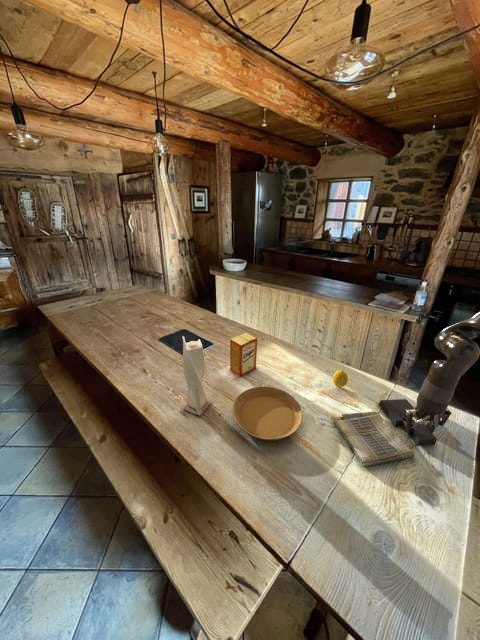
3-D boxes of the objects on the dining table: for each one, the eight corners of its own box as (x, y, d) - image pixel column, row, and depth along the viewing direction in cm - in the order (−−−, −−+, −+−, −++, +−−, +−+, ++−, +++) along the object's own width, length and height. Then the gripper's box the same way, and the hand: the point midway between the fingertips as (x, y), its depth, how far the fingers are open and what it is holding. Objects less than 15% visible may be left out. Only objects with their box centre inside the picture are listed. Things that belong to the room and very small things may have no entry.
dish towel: (415, 458, 80) (418, 451, 78) (362, 469, 76) (364, 461, 75) (375, 412, 96) (377, 406, 95) (330, 419, 93) (331, 413, 91)
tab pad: (413, 419, 93) (415, 413, 92) (435, 445, 83) (437, 439, 82) (396, 419, 92) (398, 414, 91) (416, 446, 83) (419, 440, 82)
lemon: (346, 385, 109) (350, 369, 106) (344, 393, 105) (347, 376, 102) (333, 380, 112) (336, 365, 108) (329, 388, 108) (333, 372, 104)
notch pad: (404, 404, 100) (406, 398, 99) (422, 425, 91) (424, 419, 90) (378, 405, 99) (380, 400, 98) (394, 426, 90) (396, 421, 89)
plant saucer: (300, 453, 81) (301, 445, 79) (224, 437, 86) (224, 429, 84) (302, 398, 102) (303, 392, 100) (241, 388, 107) (241, 381, 105)
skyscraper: (180, 408, 97) (173, 342, 84) (193, 394, 103) (188, 331, 91) (200, 416, 93) (195, 348, 81) (212, 401, 100) (209, 336, 88)
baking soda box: (240, 376, 113) (240, 344, 106) (230, 369, 118) (230, 338, 111) (255, 368, 119) (257, 337, 112) (246, 361, 123) (246, 331, 116)
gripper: (421, 403, 75) (404, 444, 83) (468, 401, 76) (447, 442, 84) (404, 386, 82) (390, 425, 89) (448, 384, 83) (430, 423, 90)
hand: (418, 433), depth 86 cm, fingers closed on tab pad, 6 cm apart
